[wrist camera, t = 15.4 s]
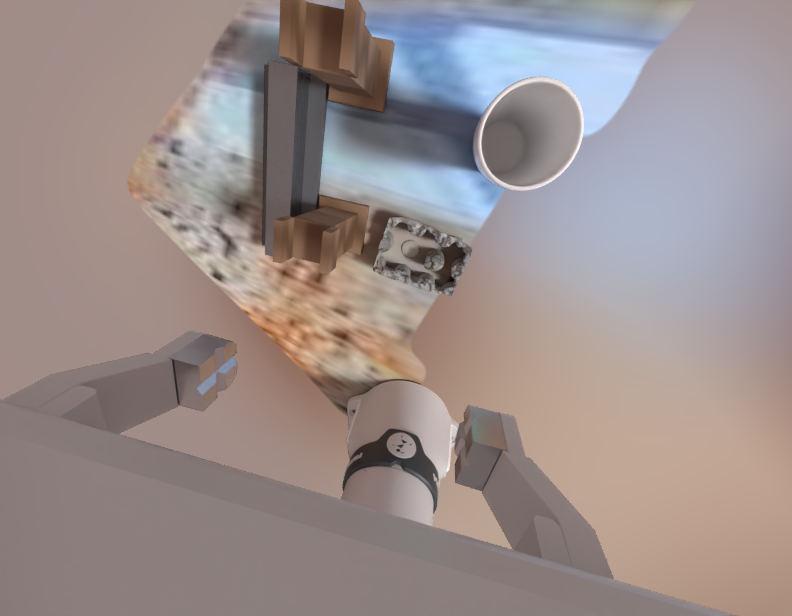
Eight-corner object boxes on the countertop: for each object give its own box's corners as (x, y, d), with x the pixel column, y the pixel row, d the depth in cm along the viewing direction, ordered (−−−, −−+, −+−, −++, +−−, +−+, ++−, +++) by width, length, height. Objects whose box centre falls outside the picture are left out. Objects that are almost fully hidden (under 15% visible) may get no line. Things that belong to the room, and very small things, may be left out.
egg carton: (375, 261, 42) (367, 270, 38) (395, 207, 39) (389, 211, 35) (448, 293, 42) (448, 306, 38) (475, 241, 39) (477, 249, 35)
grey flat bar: (313, 255, 43) (311, 257, 42) (264, 243, 43) (262, 244, 43) (328, 78, 34) (326, 77, 33) (267, 65, 34) (264, 64, 34)
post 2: (362, 252, 41) (329, 285, 30) (318, 242, 42) (269, 270, 31) (369, 206, 39) (336, 222, 28) (322, 195, 39) (271, 207, 28)
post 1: (383, 112, 34) (351, 87, 23) (331, 101, 35) (274, 71, 24) (394, 44, 32) (363, -21, 21) (337, 33, 32) (277, -38, 21)
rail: (298, 253, 42) (287, 260, 40) (277, 248, 42) (265, 254, 40) (310, 74, 34) (297, 66, 31) (283, 68, 34) (268, 60, 31)
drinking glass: (453, 155, 35) (454, 150, 22) (497, 96, 32) (530, 47, 19) (499, 194, 36) (528, 212, 22) (546, 140, 33) (611, 123, 20)
